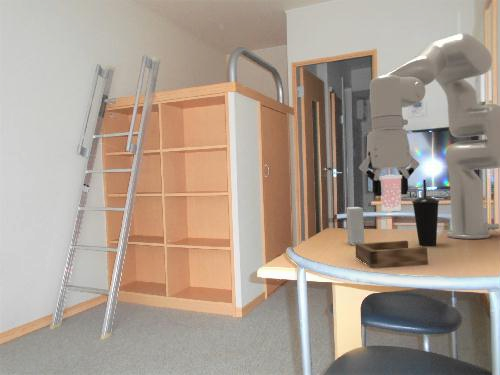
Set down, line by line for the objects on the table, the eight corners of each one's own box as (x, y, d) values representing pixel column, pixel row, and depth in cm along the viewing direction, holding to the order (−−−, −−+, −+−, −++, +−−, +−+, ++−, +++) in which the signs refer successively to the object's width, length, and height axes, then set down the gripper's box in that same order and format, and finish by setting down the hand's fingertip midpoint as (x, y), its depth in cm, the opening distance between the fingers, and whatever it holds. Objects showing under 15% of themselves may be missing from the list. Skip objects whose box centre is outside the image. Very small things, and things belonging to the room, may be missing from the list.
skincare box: (365, 245, 126) (363, 207, 126) (351, 245, 127) (349, 208, 126) (360, 242, 133) (358, 206, 132) (347, 242, 133) (345, 207, 132)
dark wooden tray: (406, 255, 108) (405, 240, 108) (428, 264, 96) (427, 247, 96) (356, 258, 107) (355, 243, 107) (371, 268, 95) (370, 251, 95)
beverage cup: (381, 209, 106) (379, 157, 105) (406, 209, 102) (403, 155, 102) (376, 211, 100) (373, 156, 100) (401, 211, 97) (398, 154, 97)
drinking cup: (412, 246, 119) (409, 180, 118) (415, 242, 126) (412, 180, 125) (440, 247, 115) (437, 179, 115) (441, 243, 122) (438, 178, 122)
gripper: (413, 125, 105) (416, 192, 105) (349, 128, 104) (353, 196, 105) (427, 121, 98) (430, 193, 98) (358, 124, 97) (362, 197, 97)
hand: (390, 194), depth 101 cm, fingers closed on beverage cup, 6 cm apart
